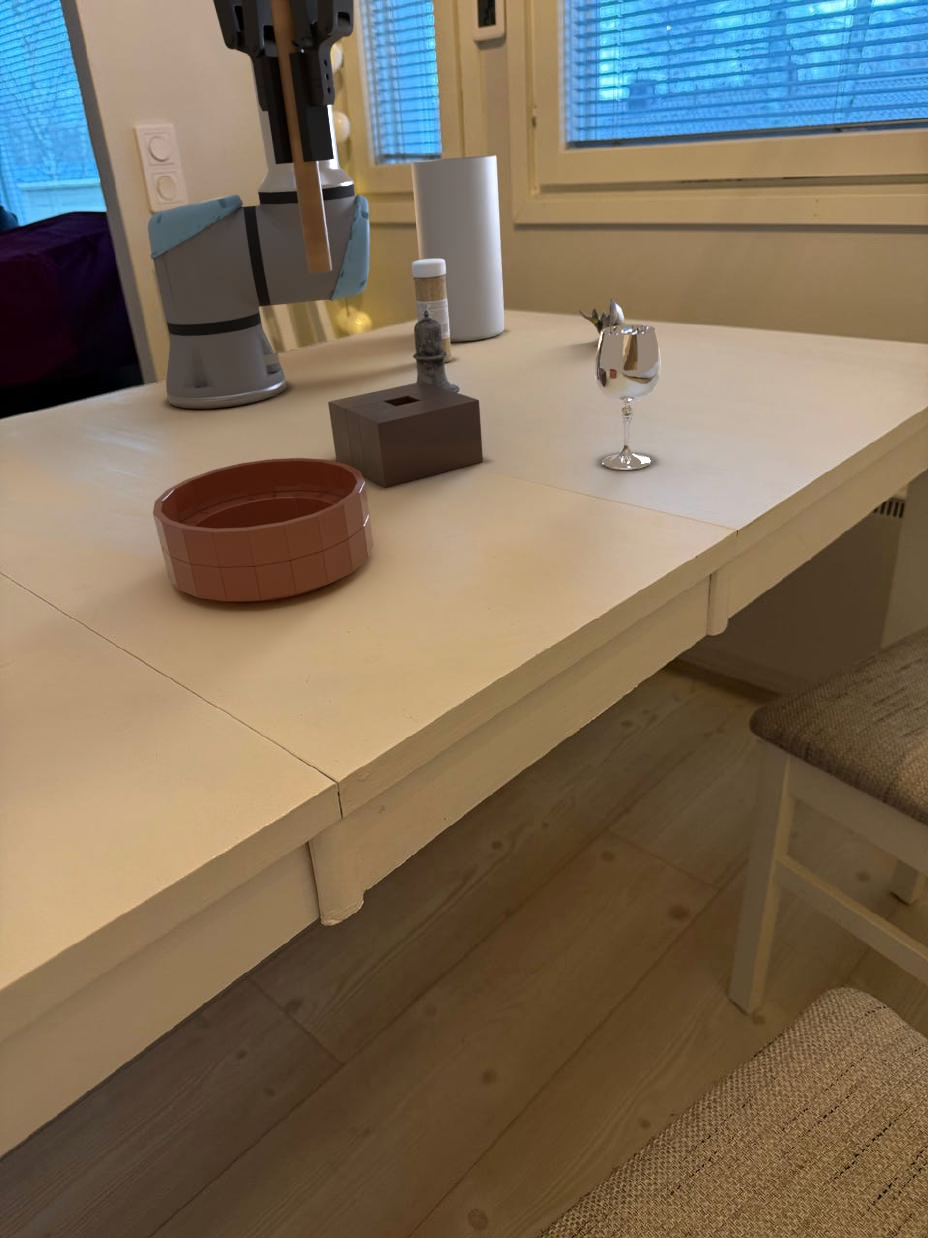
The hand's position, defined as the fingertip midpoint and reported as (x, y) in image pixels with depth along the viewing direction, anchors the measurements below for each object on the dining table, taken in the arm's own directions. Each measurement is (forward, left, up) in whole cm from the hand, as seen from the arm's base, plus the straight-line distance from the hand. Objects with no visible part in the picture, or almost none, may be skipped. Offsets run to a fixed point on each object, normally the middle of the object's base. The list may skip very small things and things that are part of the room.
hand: (305, 161), depth 65 cm
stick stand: (-10, +11, -27) cm, 31 cm away
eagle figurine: (-36, +59, -27) cm, 74 cm away
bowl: (+5, -9, -27) cm, 29 cm away
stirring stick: (0, 0, -7) cm, 7 cm away
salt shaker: (-20, +20, -27) cm, 39 cm away
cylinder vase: (-60, +49, -27) cm, 82 cm away
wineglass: (+5, +26, -27) cm, 38 cm away
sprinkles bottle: (-47, +36, -27) cm, 65 cm away
